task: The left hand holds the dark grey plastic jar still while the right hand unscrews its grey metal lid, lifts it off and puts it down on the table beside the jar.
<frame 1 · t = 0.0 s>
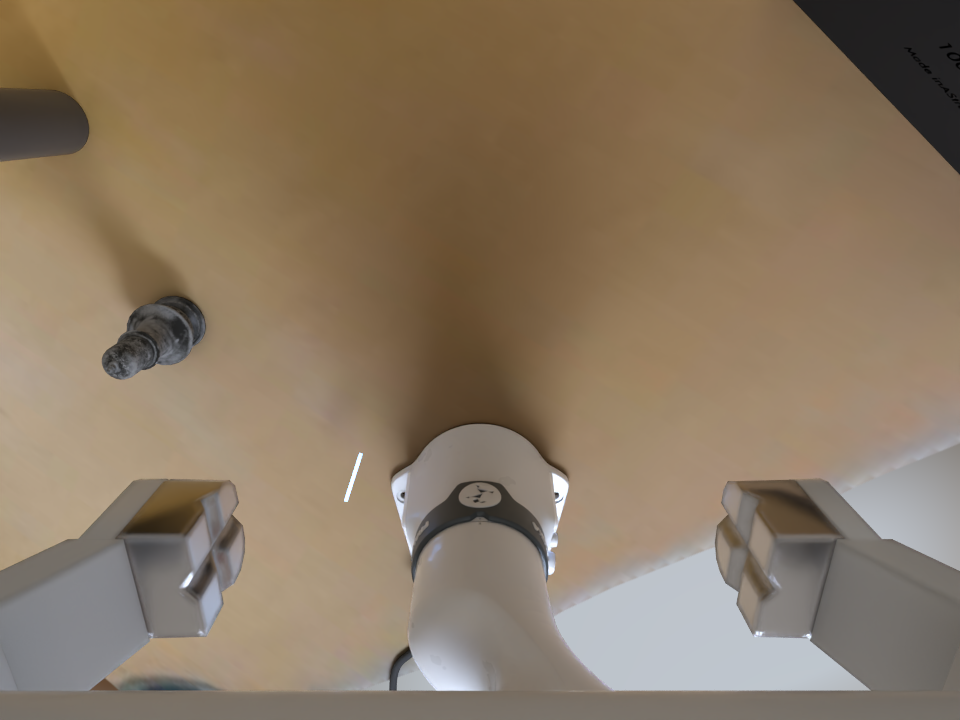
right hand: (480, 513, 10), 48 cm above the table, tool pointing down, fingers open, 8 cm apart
jar: (58, 122, 53), on the table
dark grey chess piece: (178, 322, 60), on the table
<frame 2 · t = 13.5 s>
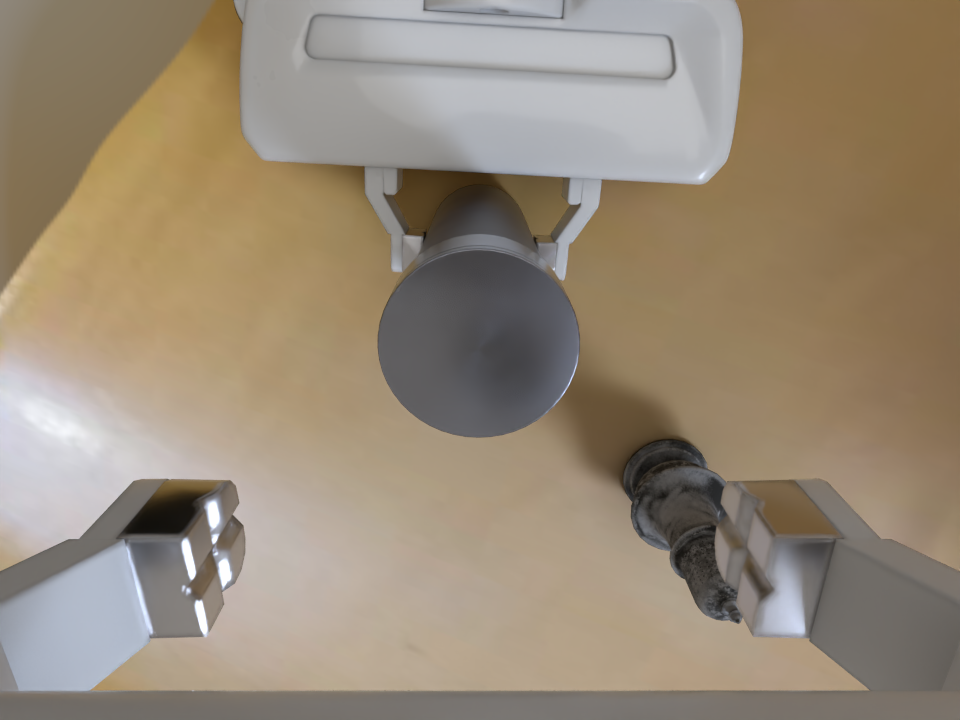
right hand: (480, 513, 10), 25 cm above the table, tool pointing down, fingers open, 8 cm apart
jar: (479, 233, 34), on the table, touching left hand
dark grey chess piece: (664, 474, 39), on the table
lid: (478, 344, 18), point 17 cm above the table, screwed on, not yet turned
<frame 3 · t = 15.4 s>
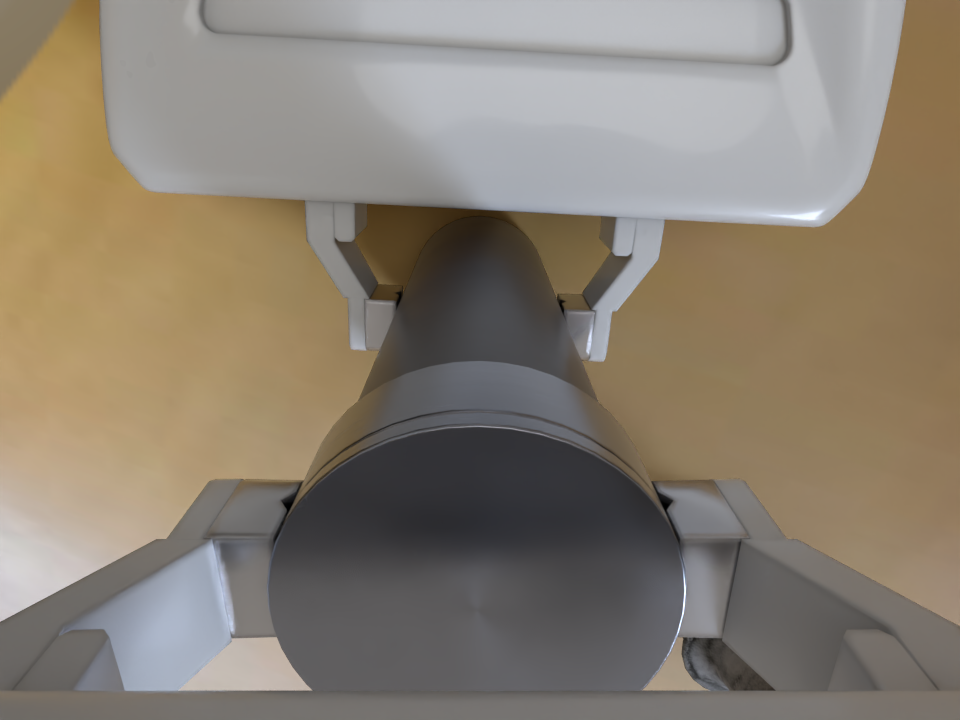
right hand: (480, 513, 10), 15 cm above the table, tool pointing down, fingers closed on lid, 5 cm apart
jar: (479, 281, 25), on the table, touching left hand
dark grey chess piece: (719, 585, 30), on the table
lid: (477, 591, 9), point 17 cm above the table, screwed on, not yet turned, touching right hand
when the right hand's fingers open (2 cm above the table, at t = 27.8 s): lid drops 2 cm, point 2 cm above the table.
when the left hand's fingers open (5 cm above the table, at t = 28.9 s): jar stays where it is, on the table.
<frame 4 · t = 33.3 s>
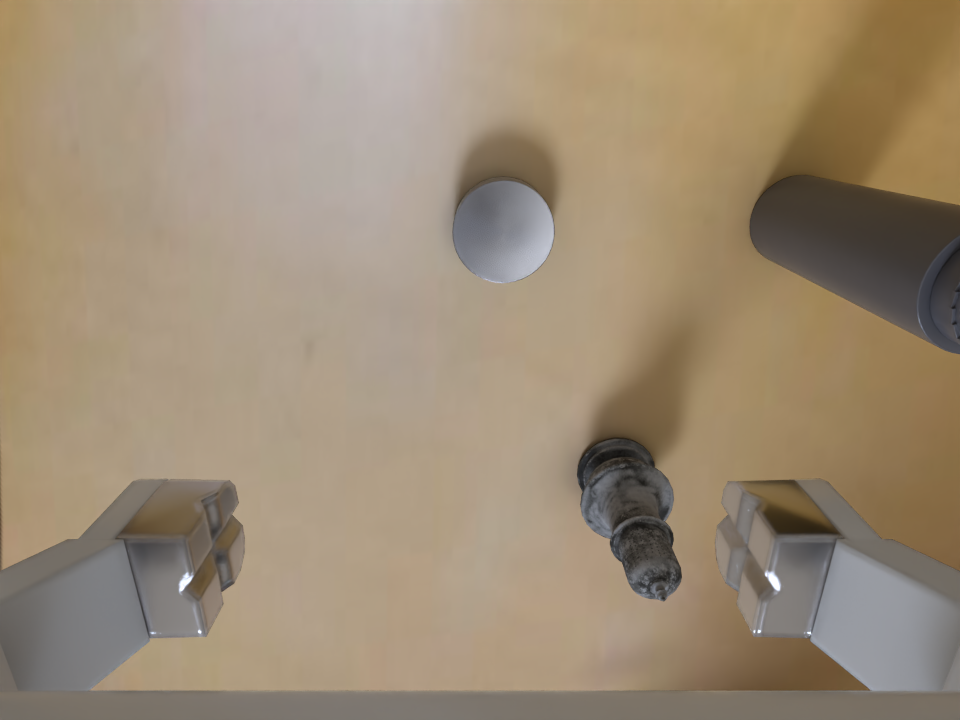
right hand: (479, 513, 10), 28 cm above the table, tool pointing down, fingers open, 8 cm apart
jar: (793, 220, 36), on the table
dark grey chess piece: (615, 470, 43), on the table
lid: (503, 232, 35), point 2 cm above the table, off its thread
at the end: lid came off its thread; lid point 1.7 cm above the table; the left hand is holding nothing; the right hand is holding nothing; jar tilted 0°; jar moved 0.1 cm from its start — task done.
